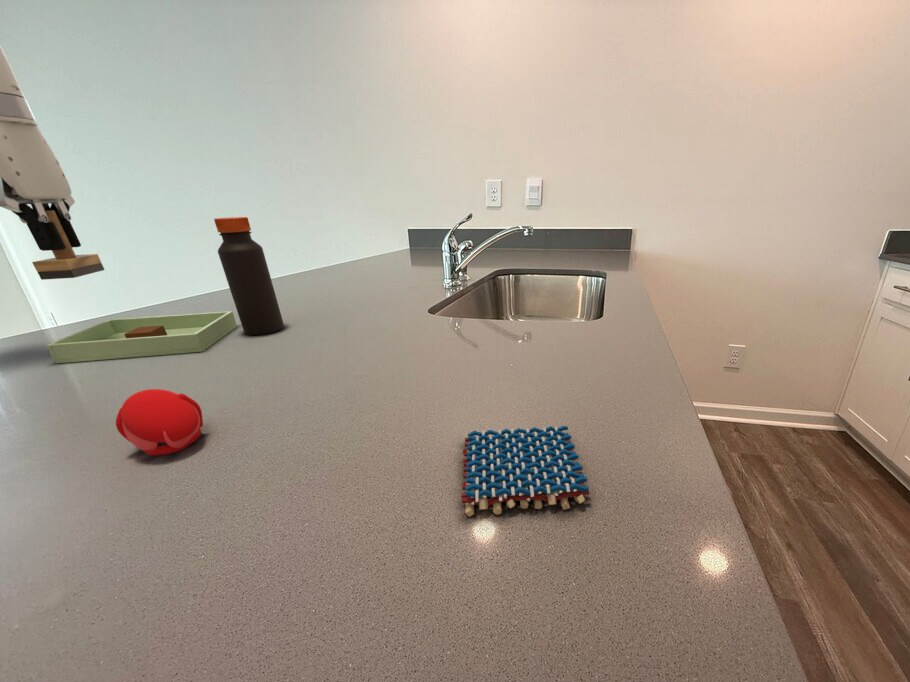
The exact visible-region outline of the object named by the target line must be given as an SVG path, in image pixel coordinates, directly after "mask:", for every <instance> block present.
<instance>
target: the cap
mask: <svg viewBox="0 0 910 682" xmlns="http://www.w3.org/2000/svg"><path fill="white" fill-rule="evenodd" d="M203 426H204V420H203V412H202V409H201V406H200V404H199V403H198V402H197V401H196V400H194V399H193V398H191V397H189V396H188V395H186V394H185V393H177V392H173V391H171V390H166V389H161V388H150V389H143V390H140V391H137V392H135V393H132V395H130V396H128V398H126V400H124V402H123V404H122V406H121V407H120V408H119V410H118V413H117V415H116V417H115V427H116V430H117V431H118V433H119V434H120V435H121V436H122V437H123V438H124V439H125V440H127V441H128V442H130V443H131V444H132V445H133V446H135V447H136V448H137V449H139V450H141V451H143V452H144V453H145V454H146V455H149V456H164V455H169V454H173V453H177V452H180V451H182V450H184V449H185V448H187V447H188V446H190V445H191V444H194V442H195V441H197V440H198V439H199V437H200V436H201V433H202V432H201V431H202V430H201V428H202V427H203ZM158 443H159V444H160V443H162V444H165V443H166V444H167V445H162V446H158Z"/></svg>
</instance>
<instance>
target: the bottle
mask: <svg viewBox="0 0 910 682" xmlns="http://www.w3.org/2000/svg"><path fill="white" fill-rule="evenodd" d="M213 220H214V224H215V227H216V230H217V233H218V235H219V236H220V237H221V238H222V239H221V240H222V243H221V244H220V245H219V247H218V249H217V254H218V257H219V260H220V263H221V266H222V269H223V272H224V275H225V278H226V282H227V284H228V287H229V290H230V293H231V297H232V299H233V302H234V306H235V310H236V312H237V315H238V317H239V321H240V324H241V327H242V331H243V332H244V333H245V335H249V336H262V335H263V336H264V335H269V334H273V333H277V332H279V331H282V329H284V327H285V323H284V319H283V317H282V312H281V309H280V306H279V302H278V298H277V296H276V292H275V289H274V285H273V284H274V283H273V281H272V277H271V274H270V270H269V267H268V263H267V259H266V256H265V253H264V248H263V246H262V245H261V244H259V243H258V242H256V241H255V240H254V239H253V238H252V235H251V234H252V228H251V224H250V222H249V221H250V220H249V218H248V216H232V217H217V218H214V219H213Z"/></svg>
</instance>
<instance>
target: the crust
mask: <svg viewBox="0 0 910 682" xmlns="http://www.w3.org/2000/svg"><path fill="white" fill-rule="evenodd" d="M124 335H125V337H126V338H139V337H153V336H166V335H167V333H166V331H165V328H164V326H163V325H161V326H147V327H138V328H136V329H134V330H132V331H130V332H127V333H125V334H124Z"/></svg>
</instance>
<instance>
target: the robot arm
mask: <svg viewBox="0 0 910 682" xmlns="http://www.w3.org/2000/svg"><path fill="white" fill-rule="evenodd" d="M38 126H39V125H38V122H37V121H36V118H35V115H34V113H33V112H32V110H31V107H30V105H29V102H28V101H27V99H26V97H25V94H24V93H23V89H22V87H21V85H20V83H19V81H18V78H17V76H16V75H15V73H14V71H13V68H12V66H11V64H10V62H9V59H8V57H7V55H6V53H5V51H4V49H3V47H2V44H1V43H0V208H3V209H4V210H5V209H6V210H8V211H11V212H12V213H13V214H14V215H16V216H18V218H19V220H20V222H21V223H23V224H26V226H27V228H28V230H29V232H30V235H32V237H33V239H34V241H35V244H36V245H37V247H38V249H39V250H40V251H43V252H45V251H47V252H48V251H52V250H63V249H65V248H66V246H65V244H64V242H63V240H62V238H61V236H60V234H59V232H58V230H57V228H56V226H55V224H54V222H48V217H47V215H46V213H45V211H47V210H54V211H55V213H56V215H57V217H58V219H59V221H60V223H61V226H62V228H63V230H64V232H65V234H66V236H67V238H68V240H69V242H70V244H71V246H72V248H80V247H81V246H82V244H81V242H80V240H79V237H78V235H77V233H76V231H75V229H74V227H73V225H72V223H71V220H72V216H71V214H70V209H71V208H72V206H73V205H74V204H75V199H74V198H73V196H72V194H73V193H72V189H71V186H70V183H69V181H68V178H67V176H66V173H65V171H64V169H63V168H62V166H61V164H60V162H59V160H58V158H57V157H56V155H55V152H54V151H53V149H52V148H51V146H50V144H49V143H48V141H47V139H46V138H45V136H44V135H43V134H44V133H42V131H41V130H40V128H39V127H38ZM49 204H50V205H49Z"/></svg>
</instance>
